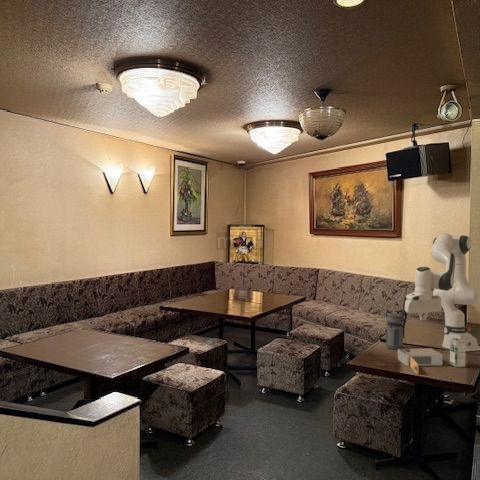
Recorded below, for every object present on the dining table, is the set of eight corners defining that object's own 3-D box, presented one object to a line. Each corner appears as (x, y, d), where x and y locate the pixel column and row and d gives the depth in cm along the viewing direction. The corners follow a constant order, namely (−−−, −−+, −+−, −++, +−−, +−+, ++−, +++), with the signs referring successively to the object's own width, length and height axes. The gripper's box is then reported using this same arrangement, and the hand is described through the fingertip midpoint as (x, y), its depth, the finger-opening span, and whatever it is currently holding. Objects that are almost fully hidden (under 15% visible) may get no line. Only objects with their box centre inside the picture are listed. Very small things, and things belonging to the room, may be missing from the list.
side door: (418, 374, 211) (418, 364, 211) (414, 374, 211) (415, 363, 211) (411, 366, 224) (411, 356, 224) (408, 365, 224) (408, 356, 224)
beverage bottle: (409, 350, 253) (409, 310, 252) (387, 350, 254) (387, 310, 253) (403, 345, 263) (404, 307, 263) (382, 345, 264) (383, 307, 264)
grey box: (429, 357, 239) (429, 346, 239) (442, 365, 225) (442, 353, 225) (396, 357, 238) (396, 346, 238) (406, 365, 224) (406, 354, 224)
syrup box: (449, 363, 228) (449, 338, 227) (459, 363, 228) (459, 337, 228) (455, 367, 222) (455, 340, 222) (465, 366, 223) (466, 340, 222)
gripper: (437, 294, 233) (437, 317, 234) (403, 295, 232) (403, 319, 232) (443, 296, 227) (443, 320, 228) (408, 297, 225) (408, 322, 226)
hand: (423, 320), depth 230 cm, fingers closed
